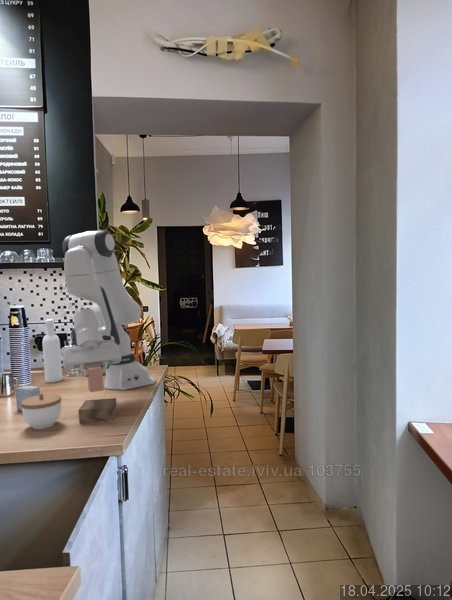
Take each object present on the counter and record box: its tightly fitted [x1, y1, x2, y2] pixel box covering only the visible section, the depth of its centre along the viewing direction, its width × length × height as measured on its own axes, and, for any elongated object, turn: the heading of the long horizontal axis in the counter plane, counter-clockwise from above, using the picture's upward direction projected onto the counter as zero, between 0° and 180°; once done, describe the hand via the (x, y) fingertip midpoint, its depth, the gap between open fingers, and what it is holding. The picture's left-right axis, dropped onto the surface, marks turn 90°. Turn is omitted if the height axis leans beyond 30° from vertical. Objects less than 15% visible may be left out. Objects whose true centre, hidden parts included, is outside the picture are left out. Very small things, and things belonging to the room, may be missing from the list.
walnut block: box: [78, 397, 118, 424], centre depth 151 cm, size 11×11×5 cm
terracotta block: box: [86, 366, 105, 393], centre depth 149 cm, size 4×4×8 cm
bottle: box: [41, 318, 63, 384], centre depth 205 cm, size 8×8×30 cm
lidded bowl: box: [21, 392, 62, 430], centre depth 144 cm, size 13×13×11 cm
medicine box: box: [14, 385, 41, 412], centre depth 162 cm, size 8×4×9 cm, turn 71°
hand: (95, 375), depth 149 cm, fingers closed on terracotta block, 4 cm apart
